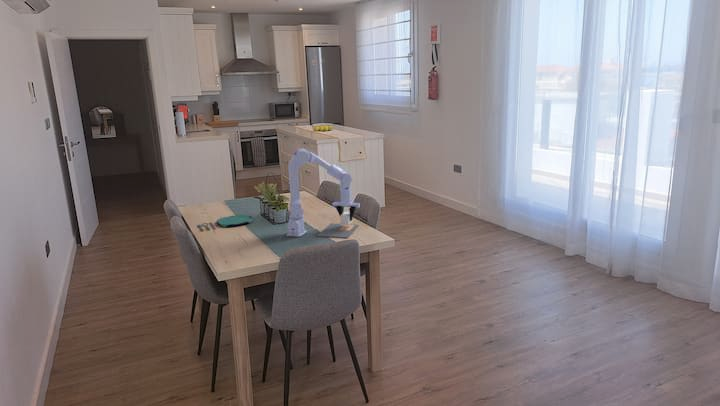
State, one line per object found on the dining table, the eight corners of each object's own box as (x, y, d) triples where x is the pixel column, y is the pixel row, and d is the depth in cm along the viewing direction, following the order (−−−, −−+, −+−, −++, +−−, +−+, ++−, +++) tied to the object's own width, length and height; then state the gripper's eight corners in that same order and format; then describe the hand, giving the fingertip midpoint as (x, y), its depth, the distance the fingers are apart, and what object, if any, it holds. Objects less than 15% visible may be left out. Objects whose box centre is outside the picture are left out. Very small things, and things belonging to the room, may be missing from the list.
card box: (353, 221, 266) (352, 212, 265) (348, 225, 259) (348, 216, 257) (345, 220, 267) (344, 211, 266) (340, 224, 260) (340, 215, 259)
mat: (347, 238, 247) (347, 237, 247) (317, 236, 252) (317, 235, 251) (358, 225, 268) (358, 224, 268) (330, 224, 272) (330, 223, 272)
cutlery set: (256, 224, 277) (256, 220, 276) (201, 233, 264) (201, 229, 263) (247, 216, 294) (247, 212, 293) (195, 225, 281) (195, 221, 280)
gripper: (361, 193, 261) (361, 218, 264) (334, 192, 265) (335, 217, 268) (357, 196, 254) (358, 222, 258) (330, 195, 258) (331, 220, 261)
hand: (346, 220), depth 262 cm, fingers closed on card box, 4 cm apart
